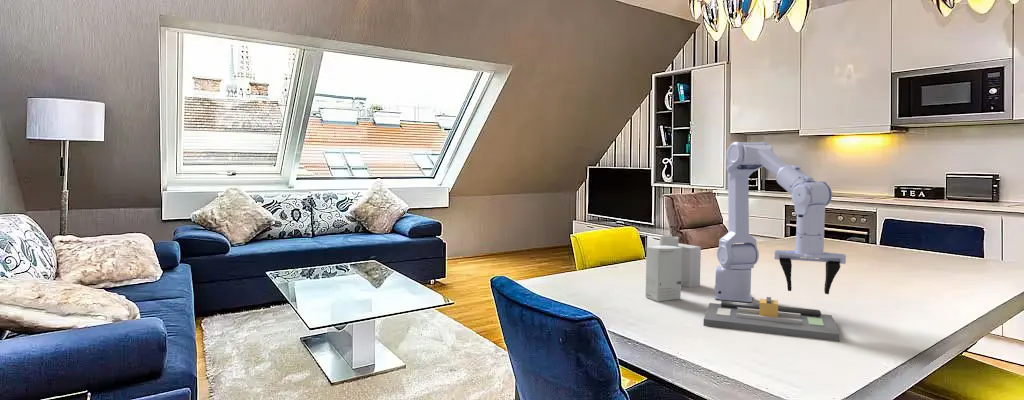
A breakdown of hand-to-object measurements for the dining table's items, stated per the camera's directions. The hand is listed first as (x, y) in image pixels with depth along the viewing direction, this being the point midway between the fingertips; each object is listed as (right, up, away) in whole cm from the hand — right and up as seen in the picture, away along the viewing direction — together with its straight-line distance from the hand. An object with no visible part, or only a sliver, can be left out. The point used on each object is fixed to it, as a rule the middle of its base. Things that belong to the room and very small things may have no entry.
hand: (807, 291), depth 130 cm
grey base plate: (-8, -8, +4) cm, 12 cm away
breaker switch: (-8, -6, +4) cm, 11 cm away
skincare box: (-26, -7, +28) cm, 39 cm away
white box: (-20, -5, +44) cm, 49 cm away
